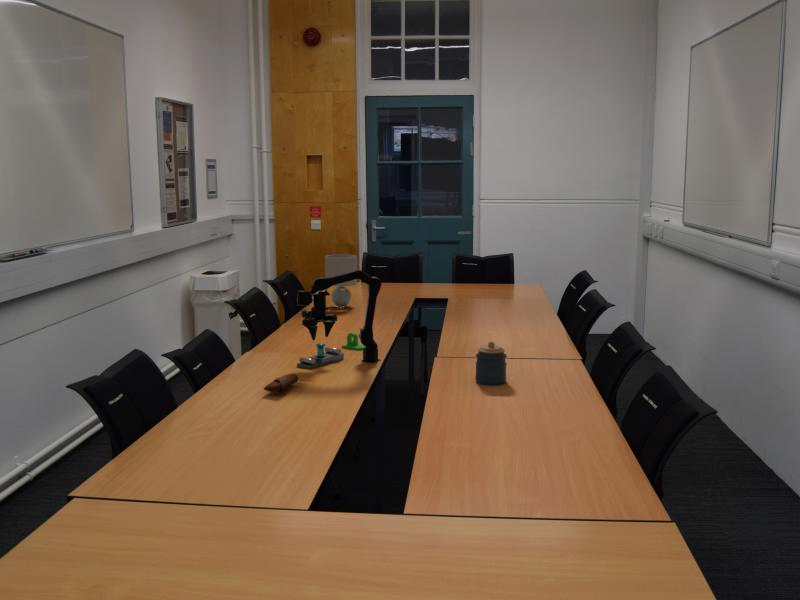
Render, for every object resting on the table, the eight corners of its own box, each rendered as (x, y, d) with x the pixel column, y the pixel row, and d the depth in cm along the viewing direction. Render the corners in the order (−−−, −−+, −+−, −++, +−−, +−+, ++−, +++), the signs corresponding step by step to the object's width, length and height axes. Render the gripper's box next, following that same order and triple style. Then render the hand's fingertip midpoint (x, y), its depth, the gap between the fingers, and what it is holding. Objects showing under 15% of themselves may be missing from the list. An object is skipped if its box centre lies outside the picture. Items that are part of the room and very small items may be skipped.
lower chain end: (332, 362, 376) (332, 354, 375) (310, 369, 363) (310, 360, 362) (319, 360, 380) (319, 352, 380) (296, 366, 367) (296, 358, 367)
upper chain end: (343, 359, 382) (343, 348, 382) (321, 365, 369) (321, 354, 369) (330, 357, 387) (330, 346, 386) (308, 363, 374) (308, 352, 373)
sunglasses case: (279, 378, 340) (288, 366, 338) (292, 389, 340) (300, 377, 338) (262, 389, 323) (271, 377, 321) (275, 400, 322) (284, 388, 321)
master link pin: (326, 362, 375) (326, 343, 374) (321, 364, 372) (321, 345, 371) (320, 361, 378) (320, 342, 376) (314, 363, 374) (314, 344, 373)
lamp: (362, 311, 518) (362, 256, 513) (334, 314, 507) (334, 258, 502) (347, 307, 535) (347, 253, 529) (320, 309, 524) (319, 255, 519)
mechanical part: (341, 349, 406) (341, 333, 404) (349, 347, 410) (349, 331, 409) (360, 352, 399) (360, 336, 397) (368, 350, 403) (367, 334, 402)
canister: (474, 386, 334) (475, 344, 331) (475, 378, 346) (476, 338, 344) (506, 387, 332) (507, 345, 329) (506, 379, 345) (507, 338, 342)
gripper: (319, 301, 383) (319, 333, 385) (292, 306, 368) (293, 339, 370) (337, 303, 377) (338, 336, 379) (311, 308, 361) (311, 342, 364)
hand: (320, 338), depth 373 cm, fingers open, 9 cm apart
